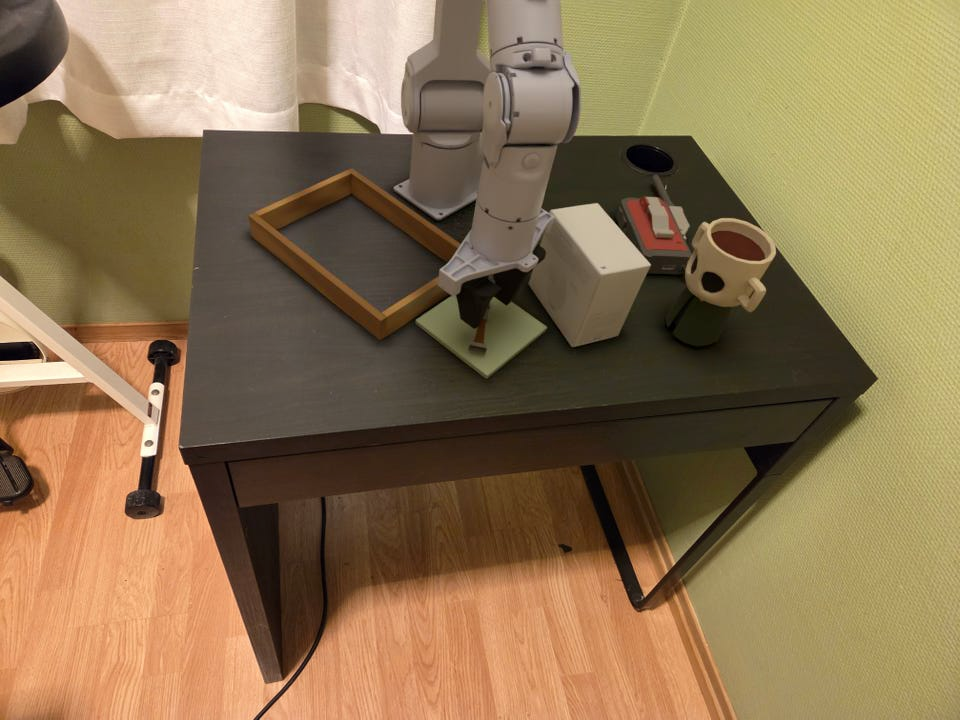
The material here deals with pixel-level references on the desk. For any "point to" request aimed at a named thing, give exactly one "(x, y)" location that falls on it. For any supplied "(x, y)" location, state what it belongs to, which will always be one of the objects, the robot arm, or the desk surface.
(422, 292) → the wooden frame
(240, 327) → the desk surface
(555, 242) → the cosmetics box
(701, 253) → the character mug
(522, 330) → the mat
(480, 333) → the wooden post with brackets
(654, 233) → the walkie-talkie
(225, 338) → the desk surface
